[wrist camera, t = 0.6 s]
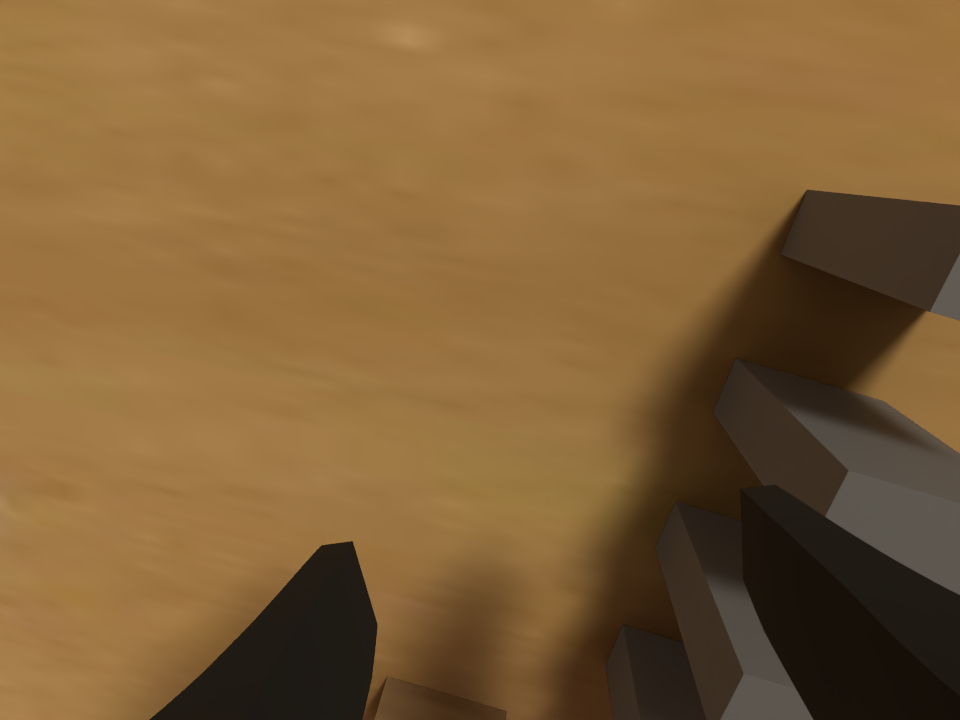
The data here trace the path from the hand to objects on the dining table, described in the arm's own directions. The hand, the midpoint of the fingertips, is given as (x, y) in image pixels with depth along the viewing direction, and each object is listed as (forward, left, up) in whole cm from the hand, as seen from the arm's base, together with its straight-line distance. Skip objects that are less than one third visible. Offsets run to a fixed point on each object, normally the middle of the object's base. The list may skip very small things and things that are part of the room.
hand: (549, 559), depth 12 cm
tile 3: (+2, -8, -10) cm, 13 cm away
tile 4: (+7, -8, -10) cm, 15 cm away
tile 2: (-4, -8, -10) cm, 14 cm away
